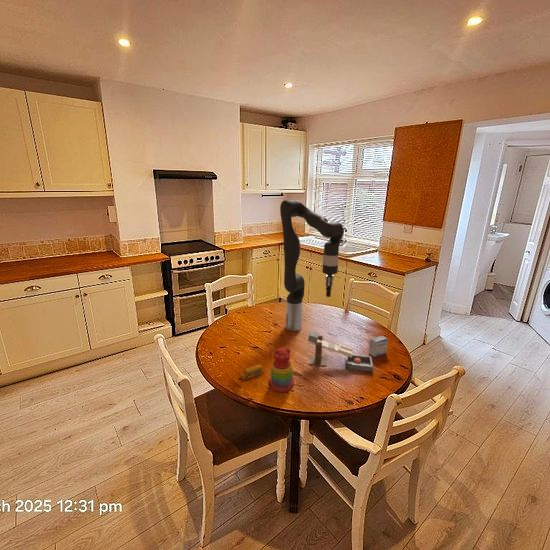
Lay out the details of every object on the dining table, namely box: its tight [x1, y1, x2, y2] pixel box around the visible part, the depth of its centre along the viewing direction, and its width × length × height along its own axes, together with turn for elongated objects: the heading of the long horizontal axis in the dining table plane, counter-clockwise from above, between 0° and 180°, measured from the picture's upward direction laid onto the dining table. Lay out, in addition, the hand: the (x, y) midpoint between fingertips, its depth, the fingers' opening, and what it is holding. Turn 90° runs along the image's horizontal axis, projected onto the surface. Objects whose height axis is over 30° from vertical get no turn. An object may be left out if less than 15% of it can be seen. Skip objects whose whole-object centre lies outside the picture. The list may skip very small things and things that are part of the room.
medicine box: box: [368, 335, 388, 358], centre depth 151 cm, size 8×4×9 cm, turn 118°
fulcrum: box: [309, 334, 328, 367], centre depth 144 cm, size 8×8×12 cm
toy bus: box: [240, 363, 263, 381], centre depth 135 cm, size 3×10×4 cm, turn 122°
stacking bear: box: [268, 347, 295, 393], centre depth 126 cm, size 11×10×18 cm
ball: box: [354, 358, 361, 364], centre depth 142 cm, size 3×3×3 cm
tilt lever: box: [307, 330, 354, 358], centre depth 142 cm, size 22×6×4 cm, turn 78°
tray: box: [344, 354, 374, 374], centre depth 142 cm, size 12×9×3 cm
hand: (328, 296), depth 151 cm, fingers closed
